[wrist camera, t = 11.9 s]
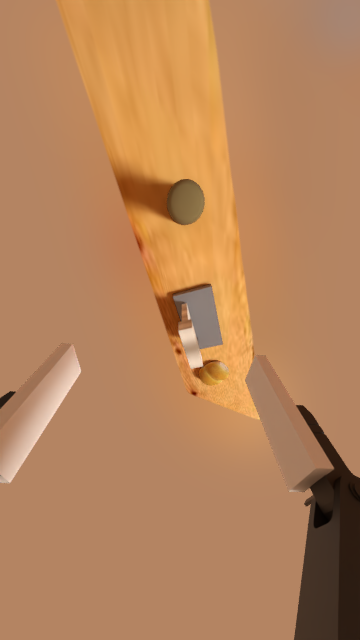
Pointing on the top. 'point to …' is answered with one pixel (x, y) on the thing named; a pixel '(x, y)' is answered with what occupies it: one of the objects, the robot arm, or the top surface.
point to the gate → (189, 339)
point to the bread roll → (213, 373)
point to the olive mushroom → (185, 202)
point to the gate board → (201, 314)
